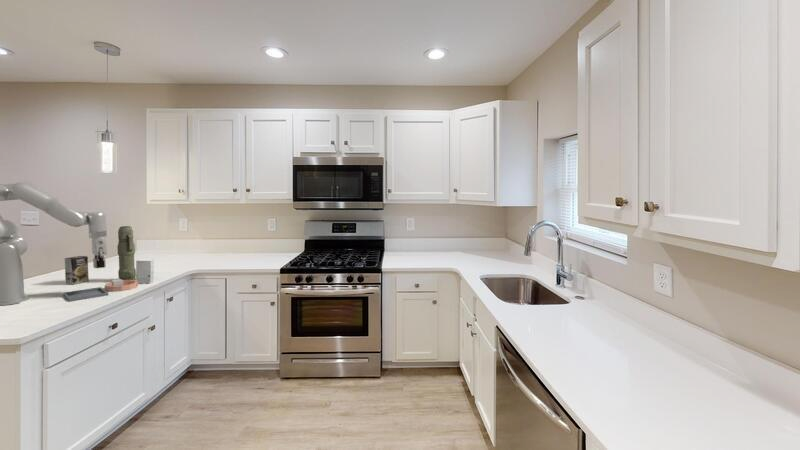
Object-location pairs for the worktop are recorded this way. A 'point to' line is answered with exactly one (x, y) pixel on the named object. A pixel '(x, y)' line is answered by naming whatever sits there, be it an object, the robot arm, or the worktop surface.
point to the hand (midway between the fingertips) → (99, 266)
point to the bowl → (126, 286)
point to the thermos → (126, 253)
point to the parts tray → (85, 294)
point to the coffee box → (76, 270)
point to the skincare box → (145, 271)
